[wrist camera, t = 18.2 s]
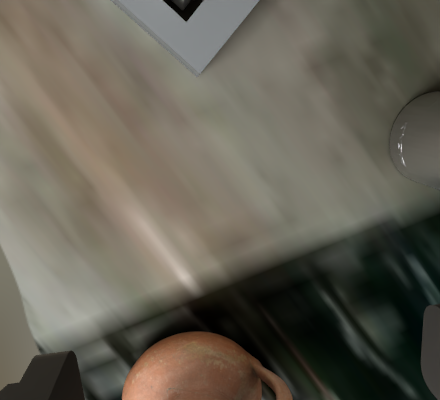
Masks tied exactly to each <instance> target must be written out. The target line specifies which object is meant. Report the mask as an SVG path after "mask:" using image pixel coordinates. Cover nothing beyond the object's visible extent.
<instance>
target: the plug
mask: <svg viewBox="0 0 440 400" xmlns="http://www.w3.org/2000/svg"><path fill="white" fill-rule="evenodd" d="M171 1H172V2H173V3H175V4H176V5H177V6H178V7H179V8H180V9H181V10H182V11H183V10H184V9H185V7H186V6H187V5H188V4H189V2H190V1H191V0H171Z"/></svg>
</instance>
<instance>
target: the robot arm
mask: <svg viewBox="0 0 440 400" xmlns="http://www.w3.org/2000/svg"><path fill="white" fill-rule="evenodd" d="M389 143H390V153H391V157H392V160H393V162H394V164H395V166H396V168H397V169H398V170H399V171H400V172H401V174H402V175H404V176H405V177H407V178H408V179H410V180H413V181H415V182H418V183H421V184H424V185H426V186H429V187H432V188H435V189H437V190H440V91H438V92H430V93H427V94H423V95H421V96H419V97H417V98H416V99H414V100H412V101H411V102H410V103H409V104H408V105H406V106H405V108H404V109H403V110H402V111H401V112H400V114H399V115H398V117H397V119H396V121H395V122H394V125H393V128H392V131H391V135H390V142H389ZM421 369H422V373H423V377H424V380H425V382H426V384H427V386H428V388H429V389H430V391H431V392H432V393H433V395H434V396H435V397H436V398H437V399H438V400H440V304H437V305H430V306H428V307H427V308H426V310H425V312H424V321H423V337H422V352H421ZM0 400H85V398H84V393H83V388H82V383H81V378H80V373H79V368H78V363H77V358H76V355H75V353H74V352H73V351H65V352H58V353H50V354H42V355H36V356H35V357H34V358H33V359H32V361H31V363H30V364H29V366H28V368H27V370H26V372H25V374H24V375H23V377H22V379H21V381H20V382H19V383H14V384H8V385H7V386H5V387H4V388H3V389H2V390H1V391H0Z"/></svg>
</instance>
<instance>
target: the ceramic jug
mask: <svg viewBox="0 0 440 400" xmlns="http://www.w3.org/2000/svg"><path fill="white" fill-rule="evenodd" d="M261 380H262V381H264V382H265V383H266V384H268V386H269V387H271V389H273V391H274V392H275V394H276V400H293V399H292V395H291V392H290V390H289V388H288V386H287V385H286V384H285V382H284V381H283V380H282V379H281V378H280V377H278V376H277V375H275V374H274V373H273V372H271V371H269V370H267V369H266V368H264V367H262V365H261V363H260V362H259V361H258V360H257V359H256V358H254V357H253V356H251V355H250V354H249V353H248V352H246V351H245V350H244V349H243V348H242V347H241V346H239V345H238V344H237V343H235V342H234V341H232V340H231V339H228V338H226V337H224V336H222V335H219V334H215V333H210V332H202V331H193V332H185V333H180V334H176V335H173V336H170V337H167V338H165V339H163V340H161V341H159V342H157V343H156V344H154V345H153V346H151V347H150V348H148V349H147V350H146V351H145V352H144V353H143V354H142V355H141V356H140V358H139V359H138V360H137V362H136V363H135V364H134V366H133V367H132V369H131V370H130V372H129V373H128V375H127V378H126V381H125V384H124V388H123V394H122V400H261V397H262V386H261Z"/></svg>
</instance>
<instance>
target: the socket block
mask: <svg viewBox="0 0 440 400" xmlns="http://www.w3.org/2000/svg"><path fill="white" fill-rule="evenodd" d="M111 1H112V2H113V3H115V4H116V5H117V6H118V7H119V8H120V9H121V10H122V11H123V12H125V13H126V14H127V15H128V16H129V17H130V18H131V19H132V20H134V21H135V22H136V23H137V24H138V25H139V26H140V27H141V28H143V29H144V30H145V31H146V32H147V33H148V34H149V35H150V36H152V37H153V38H154V39H155V40H156V41H157V42H158V43H159V44H161V45H162V46H163V47H164V48H165V49H166V50H167V51H168V52H170V53H171V54H172V55H173V56H174V57H175V58H176V59H177V60H179V61H180V62H181V63H182V64H183V65H184V66H185V67H186V68H187V69H189V70H190V71H191V72H192V73H193V74H194V75H195V76H196V77H197V76H198V75H199V74H200V73H201V72H202V71H203V69H204V68H205V67H206V66H207V64H208V63H209V62H210V61H211V60H212V58H213V57H214V56H215V55H216V53H217V52H218V51H219V50H220V48H221V47H222V46H223V45H224V43H225V42H226V41H227V40H228V39H229V37H230V36H231V35H232V34H233V32H234V31H235V30H236V29H237V27H238V26H239V25H240V24H241V22H242V21H243V20H244V19H245V18H246V16H247V15H248V14H249V13H250V11H251V10H252V9H253V8H254V6H255V5H256V4H257V3H258V1H259V0H204V1H203V2H202V3H201V4H200V6H199V7H198V8H197V9H196V11H195V12H194V13H193V15H192V16H191V17H190V18H189V20H188V21H187V22H186V21H185V20H183V19H182V18H181V17H180V16H179V15H178V14H177V13H176V12H175V11H174V10H173V9H172V8H171V7H169V6H168V5H167V4H166V3H165V2H164V1H163V0H111Z"/></svg>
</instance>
